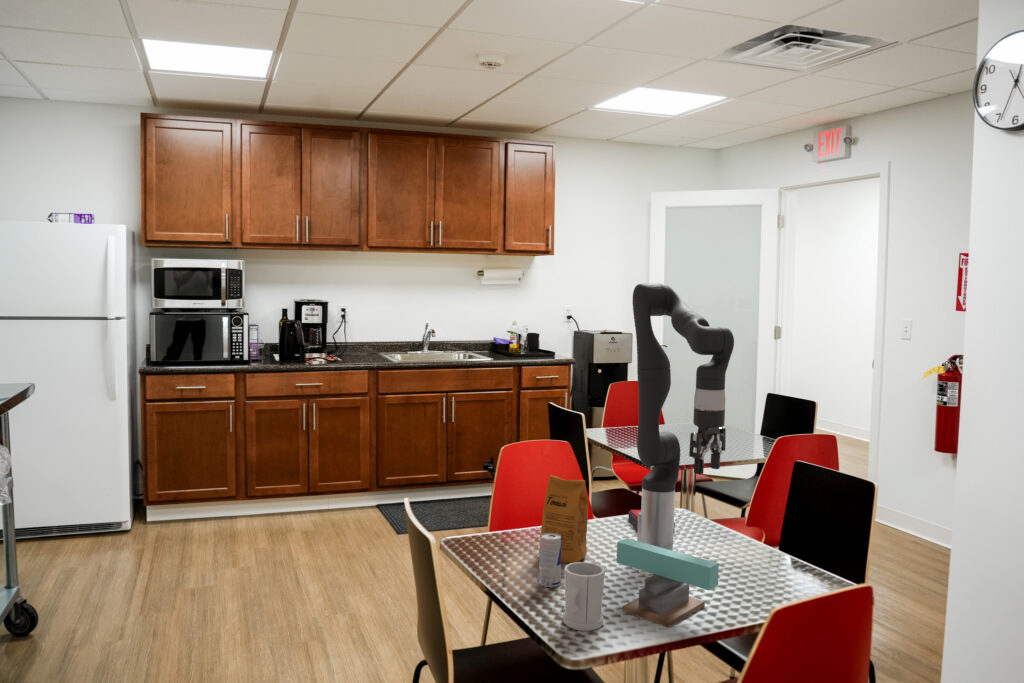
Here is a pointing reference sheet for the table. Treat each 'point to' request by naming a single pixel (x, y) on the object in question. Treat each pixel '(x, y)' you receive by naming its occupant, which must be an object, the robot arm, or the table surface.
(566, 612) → the cup
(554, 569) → the energy drink
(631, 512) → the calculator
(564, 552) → the coffee package
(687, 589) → the ridge block
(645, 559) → the teal bar
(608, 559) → the table surface
